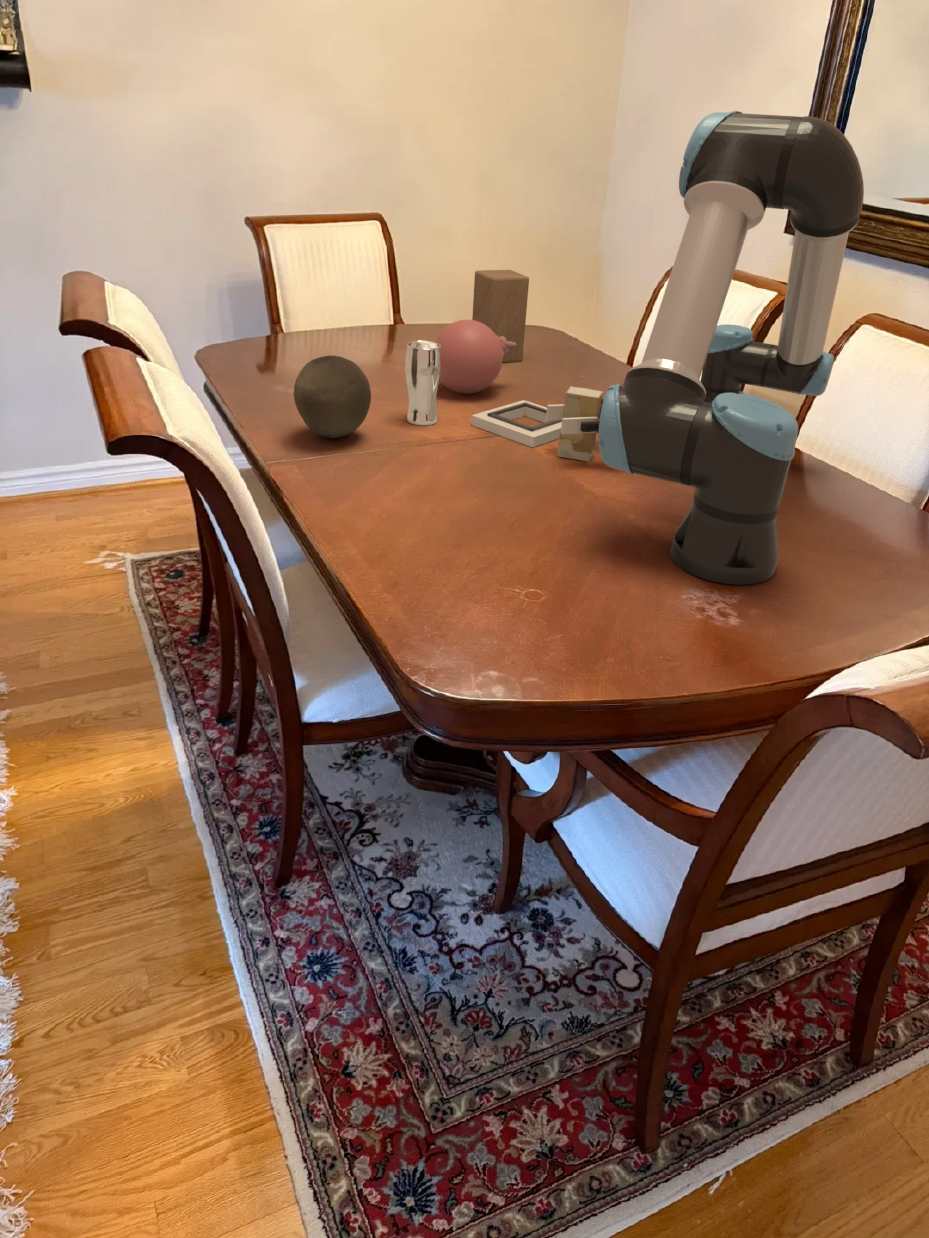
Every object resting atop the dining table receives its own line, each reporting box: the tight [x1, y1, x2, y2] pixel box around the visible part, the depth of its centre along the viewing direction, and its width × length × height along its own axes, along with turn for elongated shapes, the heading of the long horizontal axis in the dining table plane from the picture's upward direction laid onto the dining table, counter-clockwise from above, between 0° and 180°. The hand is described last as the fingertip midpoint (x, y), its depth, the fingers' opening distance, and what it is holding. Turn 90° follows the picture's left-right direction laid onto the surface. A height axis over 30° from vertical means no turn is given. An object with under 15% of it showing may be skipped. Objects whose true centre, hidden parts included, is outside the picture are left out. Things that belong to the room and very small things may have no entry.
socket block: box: [470, 399, 562, 448], centre depth 170 cm, size 16×16×2 cm
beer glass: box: [404, 339, 441, 426], centre depth 167 cm, size 7×7×15 cm
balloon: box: [434, 319, 517, 395], centre depth 186 cm, size 15×20×15 cm
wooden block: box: [471, 269, 530, 364], centre depth 209 cm, size 10×10×20 cm
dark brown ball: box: [293, 355, 372, 439], centre depth 156 cm, size 14×14×15 cm
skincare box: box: [556, 385, 604, 462], centre depth 156 cm, size 6×4×12 cm
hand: (554, 419), depth 154 cm, fingers closed on skincare box, 7 cm apart
